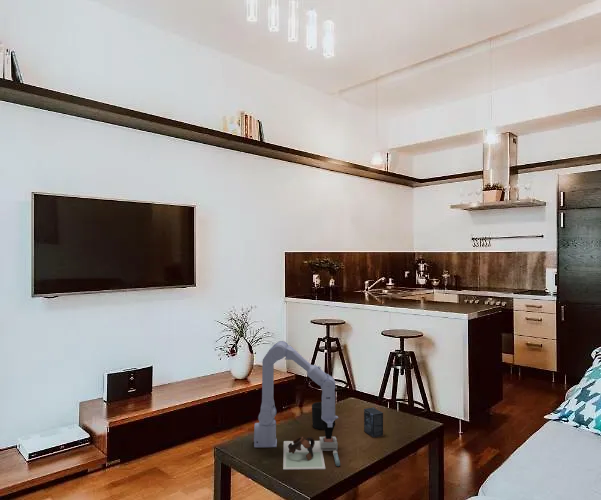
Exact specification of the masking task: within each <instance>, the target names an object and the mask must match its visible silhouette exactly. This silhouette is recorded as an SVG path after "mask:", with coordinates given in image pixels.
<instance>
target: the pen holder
mask: <svg viewBox="0 0 601 500" xmlns="http://www.w3.org/2000/svg"><path fill="white" fill-rule="evenodd" d="M321 416H322V401H319V402H318V401H317V402H313V404H311V419H312V420H311V422H312V427H313V428H314V429H317V430H324V427H323V425H322V419H321Z"/></svg>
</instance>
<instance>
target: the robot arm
mask: <svg viewBox="0 0 601 500" xmlns="http://www.w3.org/2000/svg"><path fill="white" fill-rule="evenodd" d="M283 359H284V360H288V361H289V360H290V361H293V362H294V363H296V364H297V365H298V366H299V367H301V368H302V369H303V370H305V372H306V374H307V375H306V376H307V377H308V378H310V379H311V380H312V381H313V382H314V383H315V384H317V385H318V386H320V390H321V391H322V392H321V402H322V416H321V419H322V425H323V427H324V429H323V430H324V435H325V436H324V437H326V439H331V437H333V432H334V428H335V426H336V420H338V419H339V416H338V415H336V395H335V394H336V391H335V389H336V380H335V379H334V377H333V376H332V375H330V374H329V373H327V372H325V371H324V370H322V368H321V366H320V365H316V364H311V363H310V362H309V361H308V360H307V359H305V358H304V356H302V354H300V353H299V352H298V351H297V350H296V348H294V347H293V346H291V344H290V345H289V344H288V343H287V342H286V341H285V340H280V341H278V342H276V343H275V344H273V345H272V346H271V347H270V348H269V350H268V351H267V352H266V354H265V355H264V357H263V358H262V361H261V362H262V364H261V367H262V371H261V372H262V373H261V374H262V375H261V376H262V377H261V378H262V380H261V388H262V389H261V403H260V412H259V413H258V416H257V419H258V421H259V422H255V423H254V428H253V429H254V431H253V448H277V444H278V439H277V420H276V419H275V417H276V416H277V408H276V406H275V400H274V395H275V394H274V391H275V390H274V387H275V385H274V383H275V381H274V380H275V379H274V378H275V375H274V374H275V373H274V372H275V370H274V369H275V367H274V366H275V363H277V362H278V361H280V360H283Z"/></svg>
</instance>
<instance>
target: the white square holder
mask: <svg viewBox="0 0 601 500" xmlns="http://www.w3.org/2000/svg"><path fill="white" fill-rule="evenodd" d="M325 437H326V436H319V441H320V447H321V450H322V452H323V451H326V452H329V451H330V452H331V451H332V452H333V451H334V450H336V451H338V441H337V437H336V436H332V438H333V442H324V438H325Z"/></svg>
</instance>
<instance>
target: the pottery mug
mask: <svg viewBox="0 0 601 500" xmlns="http://www.w3.org/2000/svg"><path fill="white" fill-rule="evenodd" d="M292 441H293V443H294V444H293V445H292V443H290V444H289V445H288V448H289V453H291V452H292V453H293V454H294V452H295V451H296V450H301V444H302V445H303V446H304V447H305V448H307V450H308V451H309V453H308V454H307V455H306V457H307V460H308V461H309V460H310V459H311V458H312V457H313V456H314V455H313V451H312V448H313V447H314V444H315V441H316V440H315V439H314V438H313V437H312V436H310V437H307V438H304V436H300V437H298V438H296V439H294V440H292ZM310 441H311V444H310V443H309V442H310Z"/></svg>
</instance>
